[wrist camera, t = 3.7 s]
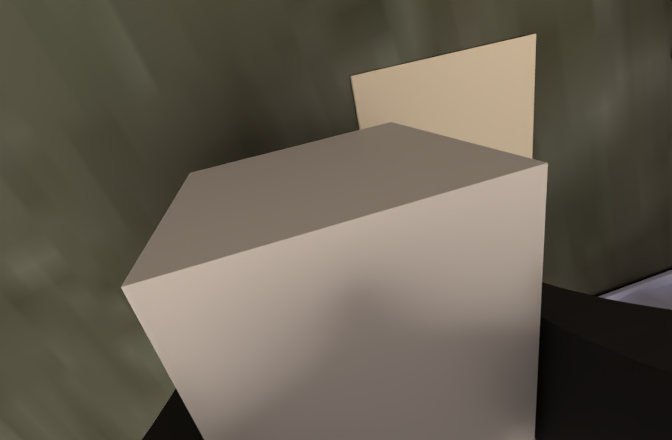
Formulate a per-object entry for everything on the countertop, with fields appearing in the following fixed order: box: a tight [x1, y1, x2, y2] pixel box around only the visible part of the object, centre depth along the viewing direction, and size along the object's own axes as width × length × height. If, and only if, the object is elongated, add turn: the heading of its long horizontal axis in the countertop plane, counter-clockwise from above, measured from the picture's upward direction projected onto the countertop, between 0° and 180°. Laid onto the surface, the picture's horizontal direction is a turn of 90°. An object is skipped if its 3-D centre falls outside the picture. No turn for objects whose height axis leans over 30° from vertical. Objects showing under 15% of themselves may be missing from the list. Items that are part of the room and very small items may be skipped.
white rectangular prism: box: [121, 122, 548, 440], centre depth 9 cm, size 10×6×6 cm, turn 11°
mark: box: [350, 34, 536, 159], centre depth 19 cm, size 10×10×1 cm
